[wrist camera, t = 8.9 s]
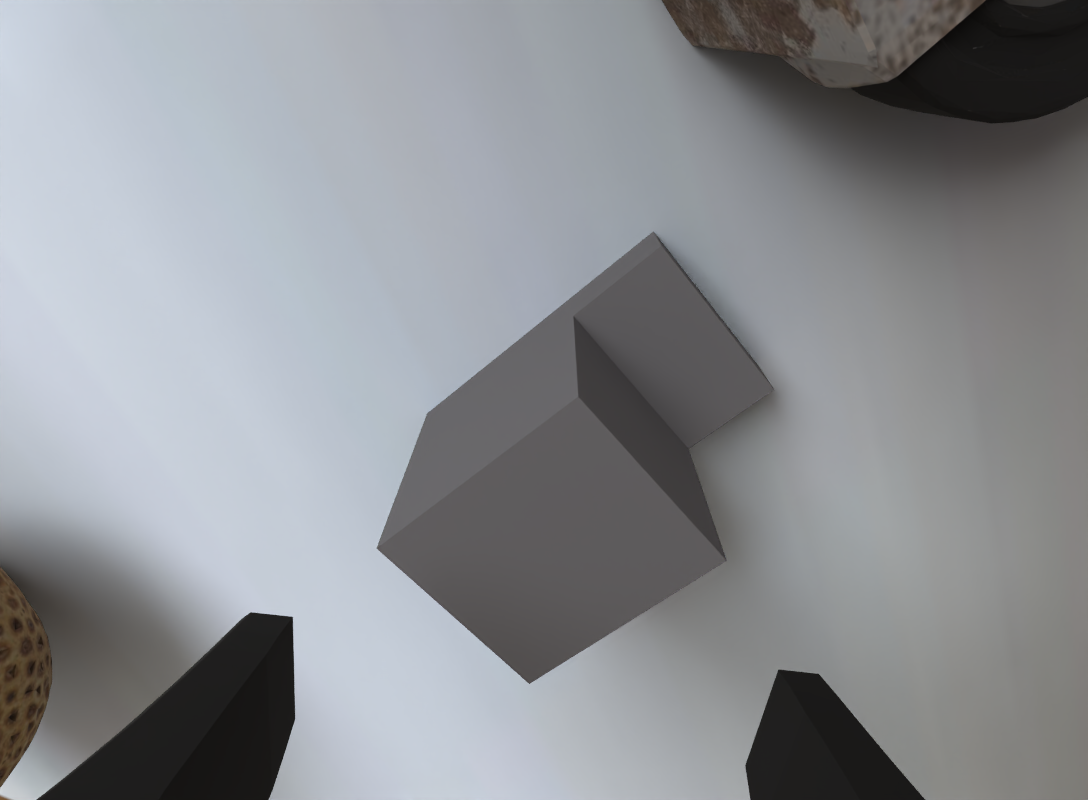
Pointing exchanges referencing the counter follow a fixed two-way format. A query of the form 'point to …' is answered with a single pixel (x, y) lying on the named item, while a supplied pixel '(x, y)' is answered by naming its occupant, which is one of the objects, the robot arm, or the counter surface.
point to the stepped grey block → (575, 467)
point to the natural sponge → (20, 674)
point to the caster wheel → (914, 49)
